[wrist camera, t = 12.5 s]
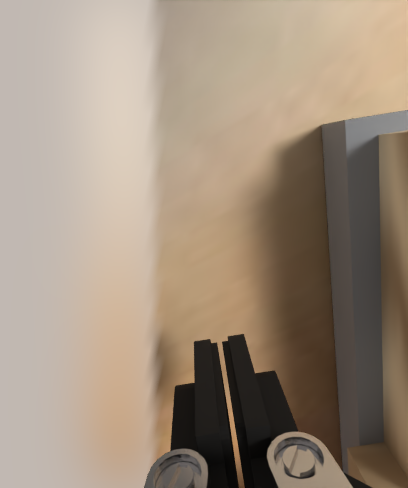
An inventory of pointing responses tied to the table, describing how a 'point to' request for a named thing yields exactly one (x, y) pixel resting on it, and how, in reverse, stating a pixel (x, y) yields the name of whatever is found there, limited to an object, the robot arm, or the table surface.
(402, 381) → the link
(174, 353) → the table surface
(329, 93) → the table surface
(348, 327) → the board
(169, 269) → the table surface
